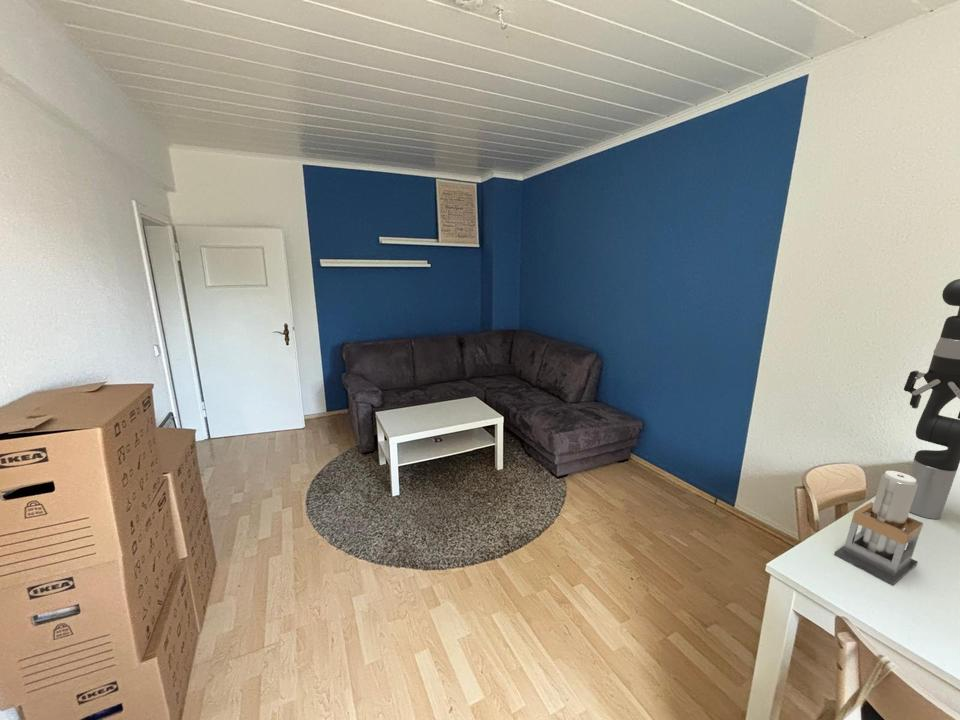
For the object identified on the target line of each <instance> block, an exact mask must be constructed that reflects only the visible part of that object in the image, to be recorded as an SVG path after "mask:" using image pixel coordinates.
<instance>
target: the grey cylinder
mask: <svg viewBox="0 0 960 720" xmlns="http://www.w3.org/2000/svg"><path fill="white" fill-rule="evenodd" d="M917 487H918V483H917V482H916V479H915V478H914V477H912V476H910V475H909V474H907V473H903V472H901V471H900V472H899V471H896V470H886V471H885V472H883V473H882V474H881V477H880V481H879V484H878V488H877V491H876V495H875V498H874V500H873V503H874V504H873V507H872V511H871V514H870V517H873V518H875V519H877V520H880V521H882V522H884V523H887V524H889V525H891V526H894V527H896V528H898V529H900V530H905V528H904V526H905V523H906V520H907V517H909V514H910V512H909V511H910V508H911V505H912V502H913V499H914V496H915V493H916V490H917ZM897 543H898V542H897V541H894V540H892V539H890V538H888V537H886V536H883V535H881V534H879V533H877V532H874V531H872V530H870V529H868V528H866V531H865V534H864V537H863V541H862V544H861V547H863V548H865V549H867V550H869V551H871V552H873V553H876V554H878V555H880V556H882V557H884V558H886V559H888V560H890V561H892V559H893V556H894V553H895V550H896V546H897Z"/></svg>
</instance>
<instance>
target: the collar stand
mask: <svg viewBox="0 0 960 720" xmlns="http://www.w3.org/2000/svg"><path fill="white" fill-rule="evenodd" d="M873 504H874V501H873V502H872V501H870V502H868V503H866V504H865V505H863V506H861V507H859V508H858V509H856V510H854V512H853V515H852V519H851V521H850V522H851V523H850V525H849V529H848V532H847V537H846V540H845V542H844V545H842V546H841V547H840V548H839V549H837V550H836V551H834V554H833V555H834V556H835V557H837V558H839V559H841V560H843V561H845V562H847V563H849V564H851V565H853V566H855V567H856V568H859V570H860V569H861V570H862V571H864V572H866V573H868V574H870V575H872V576H874V577H876V578H877V579H880V580H881V581H883V582H885V583H887V584H889V585H891V586H894V585H895V584H897V583H898V582H899V581H900V580H901V579H903V577H904V576H907V574H909V572H910V571H912V570H913V569H914V568H915V567H916V566H917V565H918V563H919V561H918V560H915V559H914V558H913V556H914V552H915V549H916V546H917V542H918V540H919V537H920V534H921V531H922V528H923V527H924V526H923V525H924V522H922V521H919V520H917V519H914V518H911V517H909V516H908V517H907V520H906V523H905V526H904V530H900V529H898V528H896V527H894V526H891V525H889V524H887V523H884V522H882V521H880V520H877V519H875V518H873V517H870V514H871V511H872V507H873ZM859 526H861V529H860V531H859V532H858V533H857V531H858V529H859ZM866 528H868V529H870V530H872V531H874V532H877V533H879V534H881V535H883V536H886V537H888V538H890V539H892V540H894V541H897V542H898V543H897V546H896V550H895V553H894V556H893V559H892V561H890V560H888V559H886V558H884V557H882V556H880V555H878V554H876V553H873V552H871V551H869V550H867V549H865V548H863V547H861V544H862V541H863V537H864V534H865V531H866Z"/></svg>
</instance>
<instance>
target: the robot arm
mask: <svg viewBox="0 0 960 720" xmlns="http://www.w3.org/2000/svg"><path fill="white" fill-rule="evenodd" d="M941 295H942V296H941V297H942V300H943V302H945V304H946V305H949V306H954V307H958V311H957V315H952V316H949V317H948V316H947V318H946V319H945V321H944V324H943V328H942V330H941V334H940V336H939V338H938V341H937V343H936V345H935V348H934V350H933V355H932V357H931V361H930V364H929V367H928V371H927V372H920V371H919V370H913V371H910V372H909V374H908V377H907V379H906V382H905V384H904V388H903V390H904V391H905V392H908V393H910V394H911V398H910V400H909V401H910V402H909V406H911V408H912V409H915V410H916V409H918V408H919V405H920V402H921V398H922V393H925V392H927V391H929V390H931V393H930V395H929V398H928V400H927V402H926V404H925V407H924V409H923V411H922V414H921V416H920V418H919V421H918V423H917V425H916V429H915V437H916V438H917V439H919V440H921V441H923V442H928V443H932V444H934V445H939V446H942V447H946V448H947V449H942V450H930V449H929V450H928V449H922V450H921V449H920V450H917V451H916V453H915V455H914V458H913V461H912V463H911V468H910V470H909V474H908V475H910V476H912V477H914V478H915V479H916V482H917V483H918V487H917V490H916V493H915V496H914V499H913V502H912V505H911V508H910V511H909V513H911V514H914V515H916V516H919V517H923V518H927V519H932V520H933V519H934V520H938V519H941V517H942V514H943V511H944V508H945V506H946V504H947V503H946V502H947V500H948V498H949V495H950V491H951V489H952V486H953V483H954V479H955V477H956V475H957V472H958V468H959V465H960V411H959V413H958V415H957V418H953V417H949V416H946V415H940V412H941V411H942V409H943V408H945V406H946V405H947V404H948V403H950V402H951V401H952V400H954V399H956V398H958V399H959V400H960V278H957V279H954V280H951V281H949V283H947V284H946V286H945V287H944V288H943V290H942V294H941ZM921 378H923V379H924V380H925V382H926V384H923V385H922V386H920V387H919V388H917V389H916V388H915V385H916V383H917V380H920V379H921Z"/></svg>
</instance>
